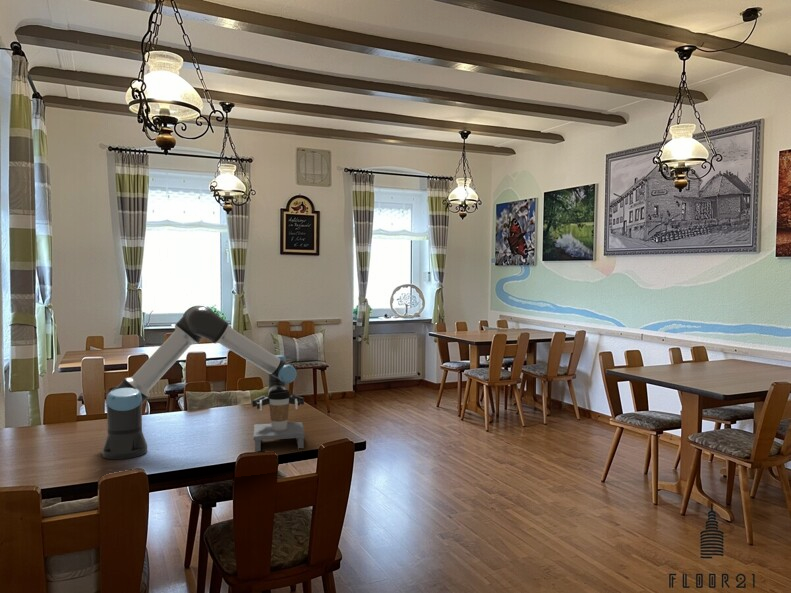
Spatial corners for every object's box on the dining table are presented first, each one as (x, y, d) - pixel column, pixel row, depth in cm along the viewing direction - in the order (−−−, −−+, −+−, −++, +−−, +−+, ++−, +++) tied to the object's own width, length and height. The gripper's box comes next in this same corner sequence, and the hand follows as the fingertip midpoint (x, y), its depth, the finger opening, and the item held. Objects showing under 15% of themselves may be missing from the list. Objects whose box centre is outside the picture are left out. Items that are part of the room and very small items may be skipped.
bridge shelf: (253, 452, 216) (253, 436, 216) (254, 439, 234) (254, 424, 233) (304, 449, 220) (304, 433, 220) (301, 436, 238) (301, 421, 238)
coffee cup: (285, 432, 222) (285, 393, 222) (264, 430, 224) (264, 392, 223) (293, 426, 230) (293, 389, 230) (273, 425, 232) (273, 388, 231)
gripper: (307, 402, 247) (311, 414, 226) (247, 405, 241) (245, 417, 221) (307, 385, 247) (311, 395, 226) (247, 387, 241) (245, 398, 221)
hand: (278, 406), depth 223 cm, fingers open, 13 cm apart
